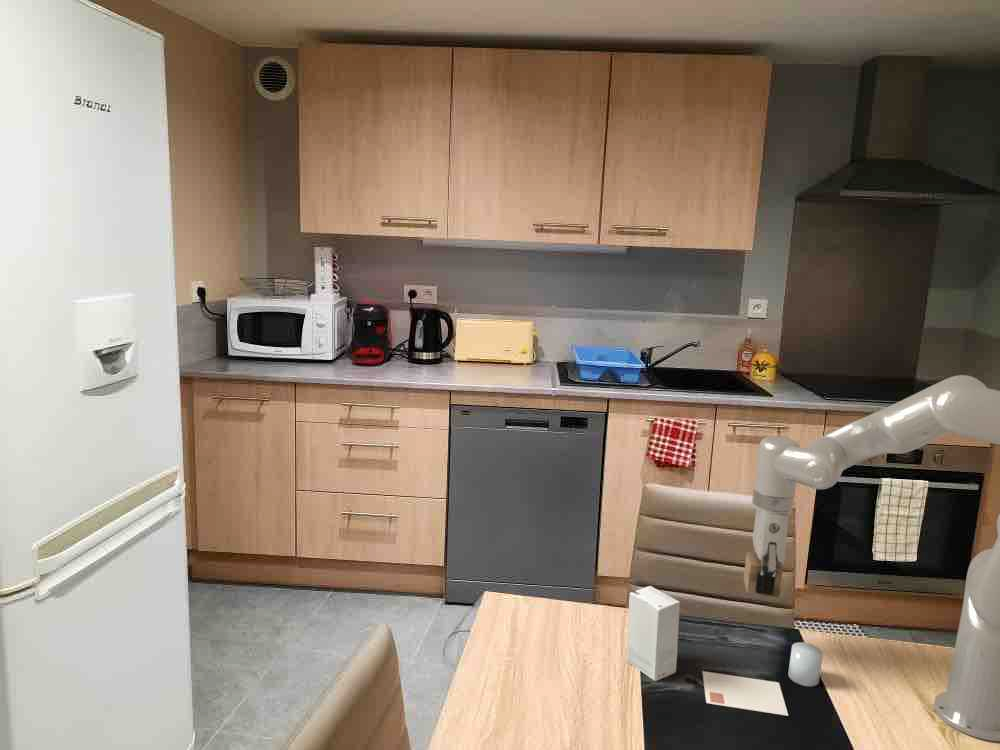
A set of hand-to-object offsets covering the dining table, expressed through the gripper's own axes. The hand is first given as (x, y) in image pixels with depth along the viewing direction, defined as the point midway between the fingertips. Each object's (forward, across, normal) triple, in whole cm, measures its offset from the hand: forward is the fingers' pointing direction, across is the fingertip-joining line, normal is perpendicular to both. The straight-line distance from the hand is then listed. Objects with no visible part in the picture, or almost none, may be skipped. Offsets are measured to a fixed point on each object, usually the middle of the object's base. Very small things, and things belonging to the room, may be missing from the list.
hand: (761, 584), depth 150 cm
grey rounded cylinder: (+14, -8, -8) cm, 18 cm away
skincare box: (+15, -12, +21) cm, 28 cm away
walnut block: (+1, 0, 0) cm, 1 cm away
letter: (+14, -16, +4) cm, 22 cm away
